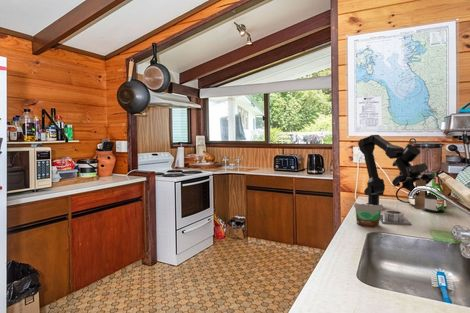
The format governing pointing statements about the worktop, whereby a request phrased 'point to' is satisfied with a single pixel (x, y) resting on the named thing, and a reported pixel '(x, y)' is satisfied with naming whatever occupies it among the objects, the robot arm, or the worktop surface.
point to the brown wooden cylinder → (420, 196)
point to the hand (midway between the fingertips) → (422, 195)
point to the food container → (368, 214)
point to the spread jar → (430, 202)
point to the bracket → (394, 217)
